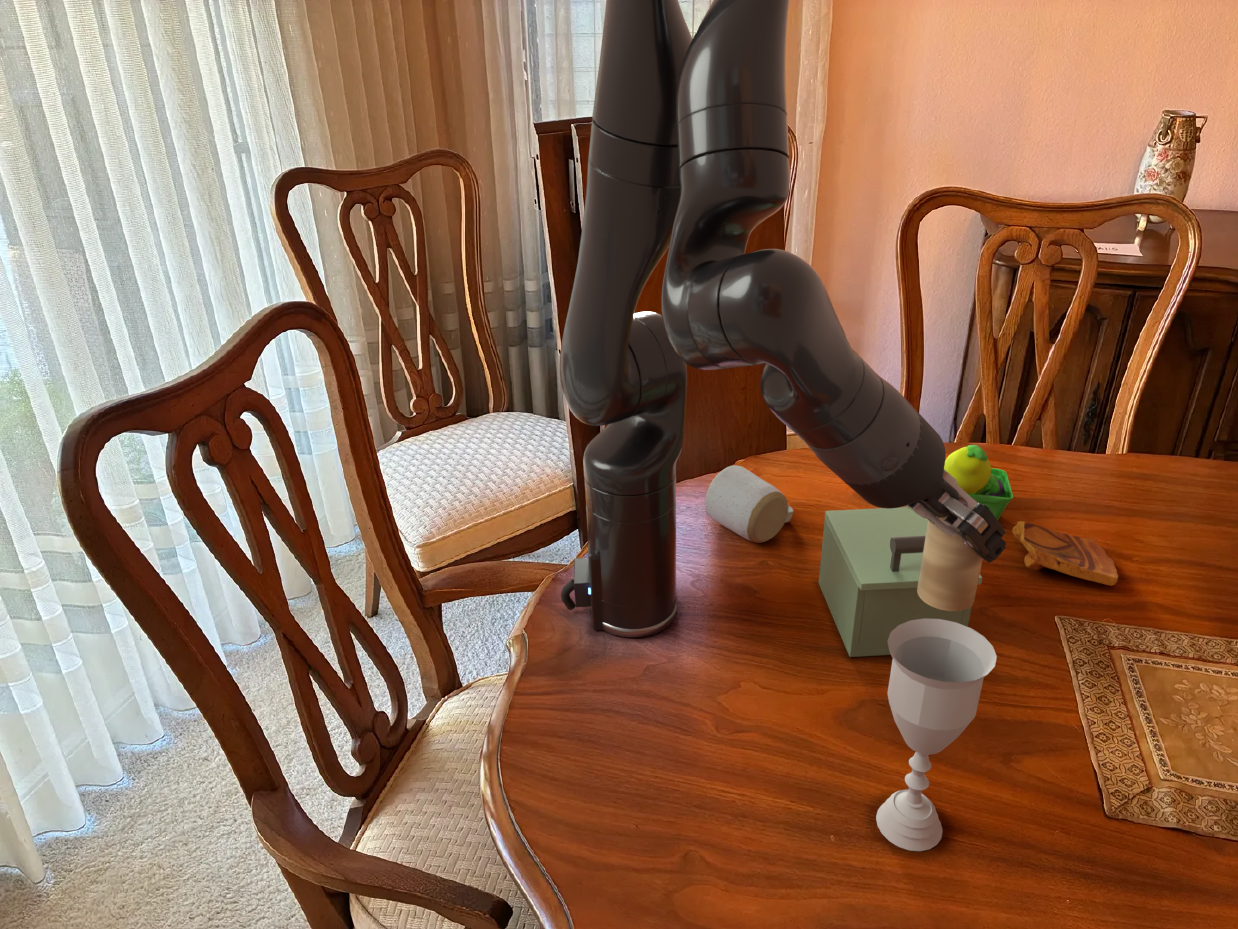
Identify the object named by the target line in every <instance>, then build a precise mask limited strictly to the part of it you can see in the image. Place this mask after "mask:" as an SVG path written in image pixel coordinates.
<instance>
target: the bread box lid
mask: <svg viewBox="0 0 1238 929" xmlns="http://www.w3.org/2000/svg"><path fill="white" fill-rule="evenodd" d="M825 518H826V521H827V523H828V525H829V527H830V529H831V531H832V533H833V535H834V537H835V539H836V541H837V543H838V545H839V547H840V549H841V551H842V553H843V555H844V557H845V559H846V561H847V563H848V566H849V568H850V570H851V572H852V574H853V576H854V578H855V580H856V582H857V584H858V586H859V588H860V590H861V591H863V590H882V589H901V588H917V587H918V581H919V575H920V568H921V562H922V556H923V550H924V544H925V537H926V531H927V525H928V519H927V518H923V517H921V516H919V515H918V514H916V513H915V512H914V511H912V510H911V509H909V508H908V507H906V506H903V507H899V508H891V509H887V508H880V507H875V508H860V509H859V508H858V509H856V508H855V509H837V510H825V511H824V519H825ZM982 580H983V577H982V574H980V575H979V580H978V585H982V582H983V581H982Z"/></svg>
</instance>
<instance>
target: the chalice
mask: <svg viewBox="0 0 1238 929" xmlns="http://www.w3.org/2000/svg"><path fill="white" fill-rule="evenodd" d="M887 642H888V647H889V651H890V653H891V655H890V656H891V658H892V660H891V667H890V675H889V681H888V687H887V692H886V693H887V699H888V704H889V707H890V711H891V713H892V717H893V721H894V722H895V724H896V727H897V728H898V731H899V732H900V734H901V737H902V739H903V740H904V742H905V745H907V747H908V748H910V749H911V750H912V751H915V753H914V754H913V756H912V757H910V758H909V759H908V765H909V767H910V768H911V772H909V773H906V775H905V776H904V782H905V784H906V785H907V787H908V789H907V788H905V789H901V790H897V791H895V792H894V793H892V794H891V795H890V796H889V797H888V798H887V799H886V800H885V802H883V803H881V805H880V806H879V808H878V809H877V812H876V816H875V820H876V826H877V828H878V829H879V831H880V834H881V835H882V836H883V837H885V839H886V840H887V841H888V842H890V843H891V844H893V845H895V846H896V847H897V848H901V849H903V850H907V851H911V852H923V851H928V850H931V849H932V848H934V847H936V846H937V845H938V844H939V843H940V842H941V840H942V837H943V831H944V830H943V827H942V822H941V820H940V819H939V814H938V813H937V809H936V807H935V805H934V803H933V802H932V800H930V799H929V797H927V796H926V795H925V794H923V791H925V790H926V789H928V788H929V786H930V781H929V779H928V777H927V776H926V773H927V772H928V771H930V770H931V769H932V763H931V761H930V759H929V758H930V757H929V756H931V755H936V754H938V753H940V752H942V751H943V750H945V749H946V748H948V746H949V745H951V744H952V743H953V742H954V741H955V740H957V739H958V738H959V737H960V736H961V734H962V733H963V732H964V731H965V730H966V728H968V726H969V725H970V724H971V722H972V721H973V720H974V719H975V717H976V715H977V711H978V706H979V702H980V698H981V693H982V688H983V683H984V678H986V676H988V675H989V674H990V672H992V670H993V669H994V668H995V667H996V663H997V657H998V656H997V654H996V651H995V649H994V646H993V644H991V642H990V641H989V640H988V639H987V638H986V637H985V636H984V635H982V634H981V633H979V632H978V631H977V630H975V629H973V628H972V627H969V626H968V627H966V626H964V625H961V624H959V623H956V622H951V621H947V620H942V619H918V620H911V621H908V622H905V623H903V624H901V625H898V626H897V627H896V628H895V629H894V630H893V631H892V632H891V633H890V636H889V638H888V641H887Z"/></svg>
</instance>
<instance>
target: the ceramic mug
mask: <svg viewBox="0 0 1238 929" xmlns="http://www.w3.org/2000/svg"><path fill="white" fill-rule="evenodd" d="M704 509H705V512H706V514H707V516H708V517H709V518H710V519H711V520H713V521H714V522H716V523H718V524H720V525H721V526H723V527H725V528H726V529H728V530H730V531H732V532H734V533H735V534H736V535H738V536H740V537H741V538H743V539H745V540H747V541H749V542H752V543H756V544H761V543H765V542H767V541H770V540H771V539H773V538H774V537H775V536H776V535H777V534H778V533H779V532H780V531H781V530H782V528H783V527H784V525H785V524H786V523H789V522H790V521H791V520H792V517H793V514H794V509H793V508H792V507H791V505H789V503H788V499H787V497H786V495H785V494H784V493H783V492H782V491H780V490H779V489H778V488H777V487H775V486H774V485H773V484H771V483H769V482H767V481H765V480H764V479H762V478H761V477H760V476H758V475H756V474H755V473H753V472H752V471H750V470H748V469H747V468H745V467H743V466H742V465H735V464H733V465H730V466H727V467H725V468H724V469H722V470H721V471H720V472H718V473H717V474H716V475H715V477H714V478H713V479H712V481H711V482H710V484H709V485H708V488H707V491H706V494H705V498H704Z"/></svg>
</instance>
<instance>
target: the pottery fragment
mask: <svg viewBox="0 0 1238 929" xmlns="http://www.w3.org/2000/svg"><path fill="white" fill-rule="evenodd" d="M1011 532H1012V534H1013V535H1014V537H1015V538H1016V539H1017V540H1018V541H1019V542H1020V543H1021V544H1022V545H1023V546H1024V548H1025V549H1026V551H1027V552H1028V553H1027V554H1026V555H1025V556H1024V559H1023V561H1024V564H1025V565H1024V566H1025V567H1026V568H1028V569H1031V570H1034V571H1038V570H1041V569H1044V568H1047V569H1050V570H1053V571H1056V572H1059V573H1062V574H1065V575H1068V576H1071V577H1075V578H1078V579H1082V580H1086V581H1089V582H1095V583H1098V584H1102V585H1106V586H1114V585H1116V584H1117V583H1118V579H1119V574H1118V570H1117V568H1116V565H1115V561H1114V559H1112V558H1110V557H1109V556H1108V554H1107V552H1106V550H1105V549H1104V548H1102V547H1101V546H1100V545H1098V543H1097V542H1096V540H1095V539H1094V538H1093V537H1089V538H1087V537H1082V536H1077V535H1074V534H1068V533H1065V532H1061V531H1057V530H1054V529H1050V528H1047V527H1044V526H1040V525H1037V524H1034V523H1031V522H1028V521H1025V520H1024V521H1023V520H1019V521H1017V522H1016V525H1014V526H1013V528H1012V529H1011Z"/></svg>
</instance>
